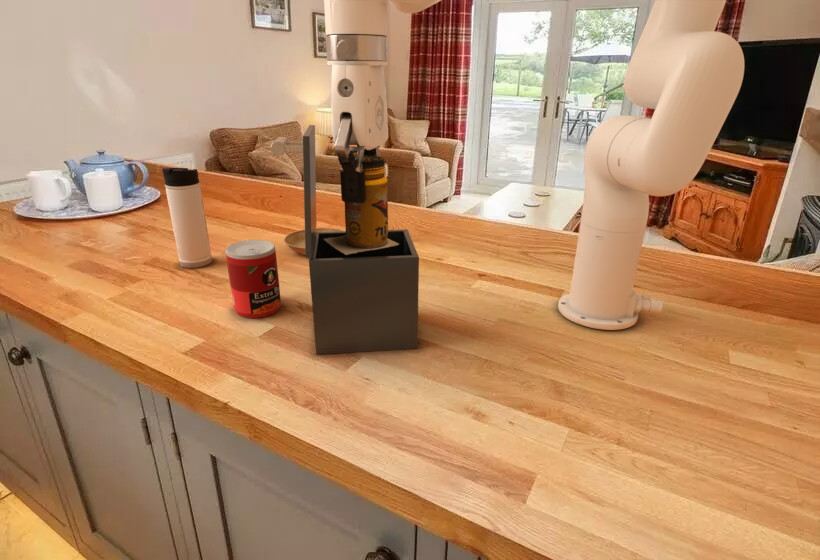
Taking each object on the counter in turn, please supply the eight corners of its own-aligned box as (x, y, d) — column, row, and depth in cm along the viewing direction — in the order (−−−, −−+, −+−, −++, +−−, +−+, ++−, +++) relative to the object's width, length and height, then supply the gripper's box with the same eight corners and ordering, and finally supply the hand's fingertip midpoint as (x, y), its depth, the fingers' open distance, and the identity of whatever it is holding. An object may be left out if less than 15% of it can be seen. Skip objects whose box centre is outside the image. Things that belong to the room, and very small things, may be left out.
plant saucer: (275, 257, 105) (273, 246, 104) (297, 236, 119) (296, 226, 118) (342, 261, 104) (341, 249, 103) (357, 239, 117) (356, 228, 116)
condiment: (399, 245, 70) (400, 159, 65) (345, 256, 65) (342, 164, 61) (374, 232, 75) (373, 152, 71) (323, 241, 71) (318, 156, 66)
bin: (407, 310, 83) (407, 229, 77) (417, 348, 72) (419, 257, 66) (319, 314, 81) (313, 231, 76) (316, 354, 70) (308, 261, 64)
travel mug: (171, 266, 100) (152, 167, 92) (195, 256, 106) (179, 162, 98) (195, 270, 98) (177, 170, 90) (218, 260, 104) (204, 164, 96)
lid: (315, 125, 70) (278, 123, 69) (309, 136, 58) (265, 134, 57) (316, 229, 76) (282, 228, 75) (311, 257, 64) (271, 257, 63)
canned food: (257, 323, 78) (248, 258, 74) (223, 311, 82) (214, 249, 78) (291, 305, 84) (285, 245, 80) (259, 294, 88) (251, 236, 84)
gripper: (364, 50, 52) (369, 214, 60) (402, 55, 68) (402, 184, 75) (299, 50, 54) (311, 210, 61) (351, 55, 69) (356, 181, 77)
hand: (361, 194), depth 68 cm, fingers closed on condiment, 6 cm apart
